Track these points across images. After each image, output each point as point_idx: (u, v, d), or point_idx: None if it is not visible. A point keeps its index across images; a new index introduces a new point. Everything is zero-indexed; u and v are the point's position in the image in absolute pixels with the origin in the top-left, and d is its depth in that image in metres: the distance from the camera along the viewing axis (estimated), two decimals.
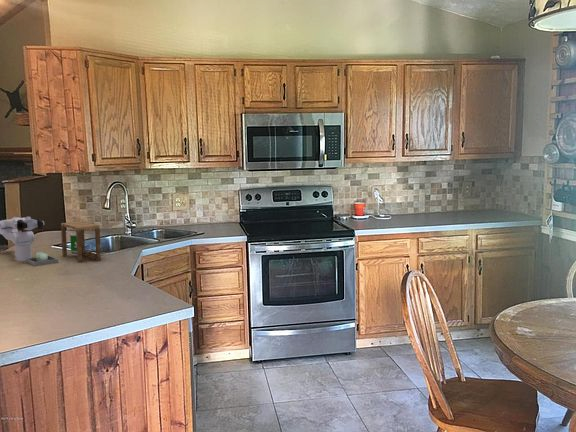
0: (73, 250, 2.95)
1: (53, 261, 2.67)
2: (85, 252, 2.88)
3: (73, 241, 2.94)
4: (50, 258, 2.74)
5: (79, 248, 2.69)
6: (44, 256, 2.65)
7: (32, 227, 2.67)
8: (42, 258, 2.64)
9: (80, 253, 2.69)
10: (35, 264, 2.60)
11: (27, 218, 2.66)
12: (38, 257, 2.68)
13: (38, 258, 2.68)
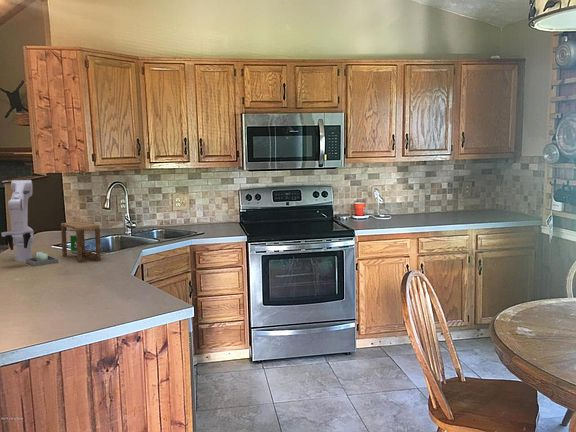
0: (73, 250, 2.95)
1: (53, 261, 2.67)
2: (85, 252, 2.88)
3: (73, 241, 2.94)
4: (50, 258, 2.74)
5: (79, 248, 2.69)
6: (44, 256, 2.65)
7: None
8: (42, 258, 2.64)
9: (80, 253, 2.69)
10: (35, 264, 2.60)
11: (18, 233, 2.56)
12: (38, 257, 2.68)
13: (38, 258, 2.68)
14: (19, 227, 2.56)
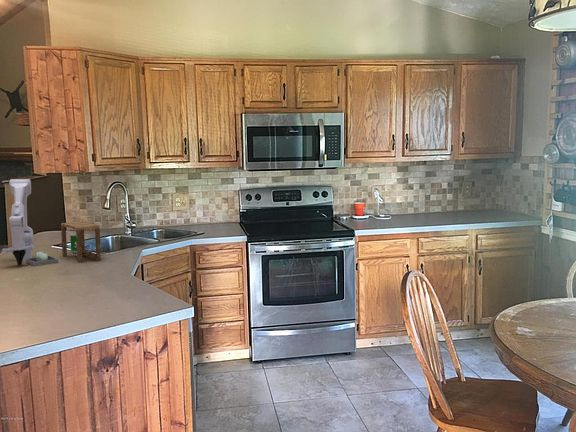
0: (73, 250, 2.95)
1: (53, 261, 2.67)
2: (85, 252, 2.88)
3: (73, 241, 2.94)
4: (50, 258, 2.74)
5: (79, 248, 2.69)
6: (44, 256, 2.65)
7: None
8: (42, 258, 2.64)
9: (80, 253, 2.69)
10: (35, 264, 2.60)
11: (19, 249, 2.57)
12: (38, 257, 2.68)
13: (38, 258, 2.68)
14: (20, 243, 2.57)
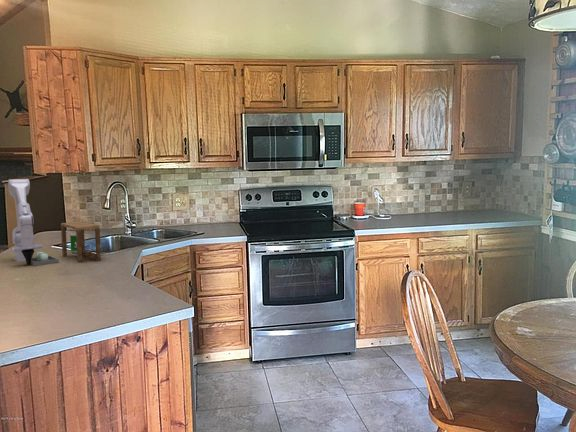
0: (73, 250, 2.95)
1: (53, 261, 2.67)
2: (85, 252, 2.88)
3: (73, 241, 2.94)
4: (50, 258, 2.75)
5: (79, 248, 2.69)
6: (44, 256, 2.65)
7: None
8: (42, 258, 2.65)
9: (80, 253, 2.69)
10: (35, 264, 2.61)
11: (28, 248, 2.60)
12: (38, 257, 2.68)
13: (38, 258, 2.69)
14: (29, 242, 2.60)
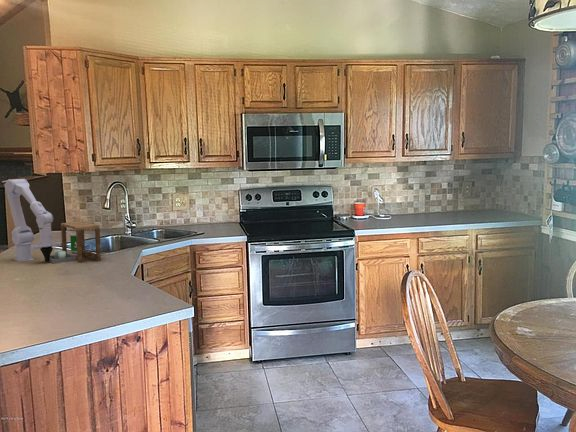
0: (73, 250, 2.95)
1: (71, 258, 2.73)
2: (85, 252, 2.88)
3: (73, 241, 2.94)
4: (68, 256, 2.81)
5: (79, 248, 2.69)
6: (62, 254, 2.71)
7: None
8: (60, 255, 2.71)
9: (80, 253, 2.69)
10: (54, 261, 2.67)
11: None
12: (56, 254, 2.75)
13: (56, 255, 2.75)
14: (48, 240, 2.67)
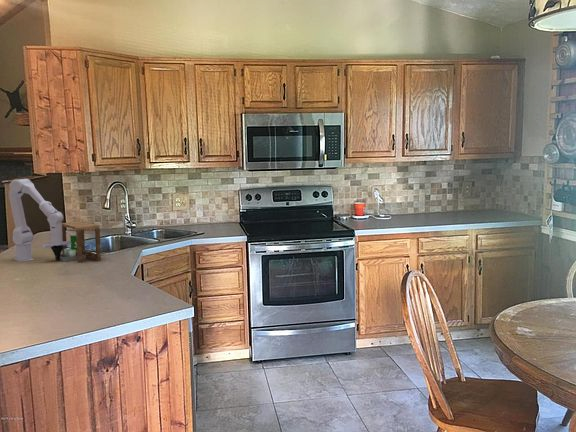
0: None
1: None
2: (85, 252, 2.88)
3: (73, 241, 2.94)
4: None
5: (79, 248, 2.69)
6: (72, 252, 2.75)
7: None
8: (70, 254, 2.75)
9: (80, 253, 2.69)
10: (65, 260, 2.71)
11: (58, 245, 2.70)
12: (66, 253, 2.79)
13: (66, 254, 2.79)
14: (58, 239, 2.71)
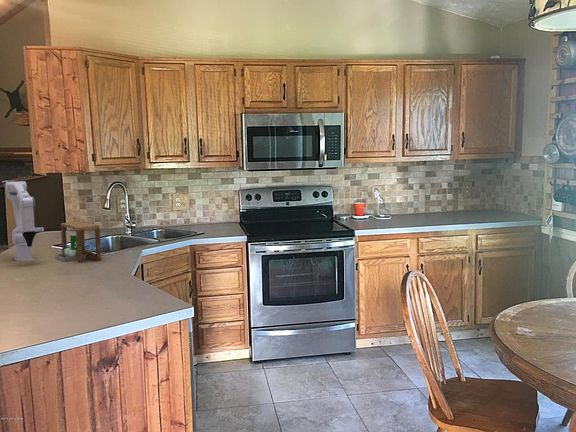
0: None
1: None
2: (85, 252, 2.88)
3: (73, 241, 2.94)
4: None
5: (79, 248, 2.69)
6: (73, 252, 2.75)
7: None
8: (70, 254, 2.75)
9: (80, 253, 2.69)
10: (65, 260, 2.71)
11: (29, 231, 2.60)
12: (66, 253, 2.79)
13: (66, 254, 2.79)
14: (30, 225, 2.61)
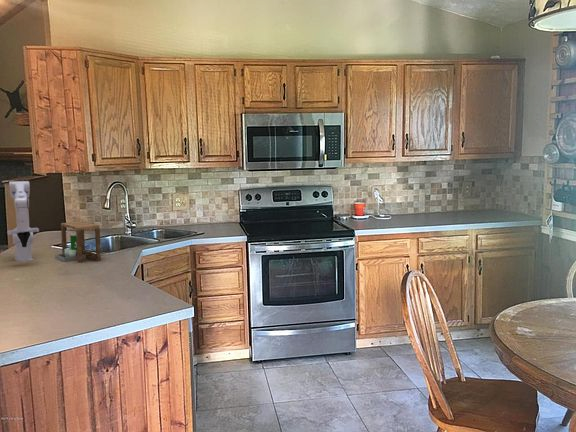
0: None
1: None
2: (85, 252, 2.88)
3: (73, 241, 2.94)
4: None
5: (79, 248, 2.69)
6: (73, 252, 2.75)
7: None
8: (70, 254, 2.75)
9: (80, 253, 2.69)
10: (65, 260, 2.71)
11: (24, 231, 2.59)
12: (66, 253, 2.79)
13: (66, 254, 2.79)
14: (25, 225, 2.59)
